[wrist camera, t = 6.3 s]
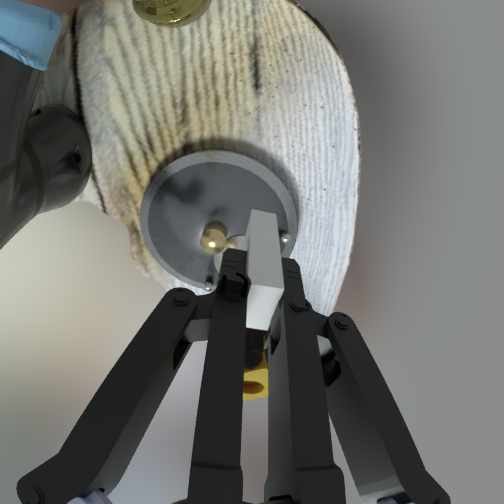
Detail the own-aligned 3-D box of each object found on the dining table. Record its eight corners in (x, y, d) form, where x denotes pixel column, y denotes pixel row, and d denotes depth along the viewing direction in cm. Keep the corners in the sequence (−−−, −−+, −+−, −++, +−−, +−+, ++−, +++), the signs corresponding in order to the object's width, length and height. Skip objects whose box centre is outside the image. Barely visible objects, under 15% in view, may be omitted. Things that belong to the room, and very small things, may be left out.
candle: (266, 314, 44) (266, 366, 35) (288, 346, 49) (291, 392, 41) (213, 330, 46) (206, 378, 38) (240, 358, 52) (237, 402, 43)
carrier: (117, 216, 34) (104, 231, 30) (225, 113, 26) (221, 117, 23) (213, 303, 42) (210, 323, 39) (325, 238, 35) (331, 256, 32)
